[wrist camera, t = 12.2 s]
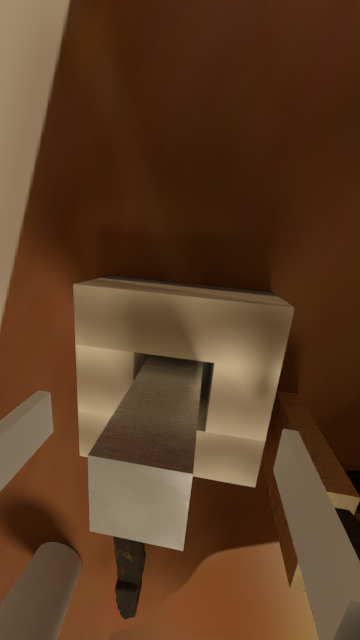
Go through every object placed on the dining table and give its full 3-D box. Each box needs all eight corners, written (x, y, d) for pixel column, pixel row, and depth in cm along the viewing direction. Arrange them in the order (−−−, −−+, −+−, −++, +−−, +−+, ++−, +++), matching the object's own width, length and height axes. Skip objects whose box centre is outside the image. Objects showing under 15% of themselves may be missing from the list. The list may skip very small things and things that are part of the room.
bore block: (245, 431, 24) (255, 487, 18) (109, 410, 26) (79, 455, 20) (271, 291, 20) (294, 307, 15) (110, 275, 22) (73, 284, 16)
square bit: (199, 390, 21) (183, 551, 10) (154, 384, 22) (89, 531, 10) (204, 348, 20) (193, 474, 9) (157, 342, 21) (87, 455, 9)
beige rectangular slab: (280, 462, 25) (323, 595, 15) (260, 459, 25) (289, 588, 15) (297, 393, 22) (360, 497, 13) (275, 390, 23) (320, 490, 13)
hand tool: (114, 460, 28) (95, 499, 23) (148, 465, 27) (135, 507, 23) (118, 572, 33) (103, 622, 29) (147, 579, 33) (136, 630, 28)
